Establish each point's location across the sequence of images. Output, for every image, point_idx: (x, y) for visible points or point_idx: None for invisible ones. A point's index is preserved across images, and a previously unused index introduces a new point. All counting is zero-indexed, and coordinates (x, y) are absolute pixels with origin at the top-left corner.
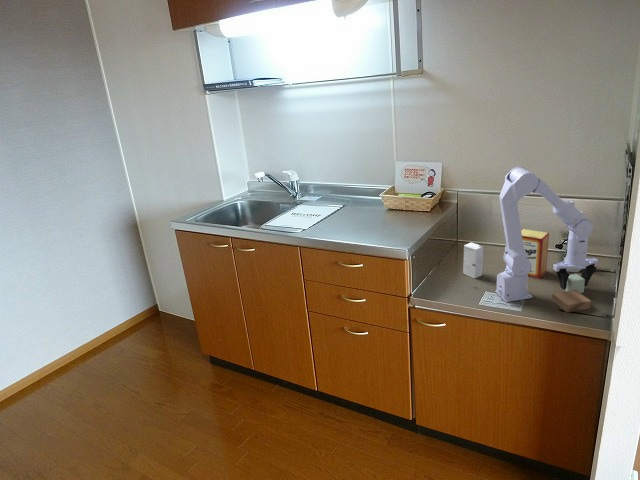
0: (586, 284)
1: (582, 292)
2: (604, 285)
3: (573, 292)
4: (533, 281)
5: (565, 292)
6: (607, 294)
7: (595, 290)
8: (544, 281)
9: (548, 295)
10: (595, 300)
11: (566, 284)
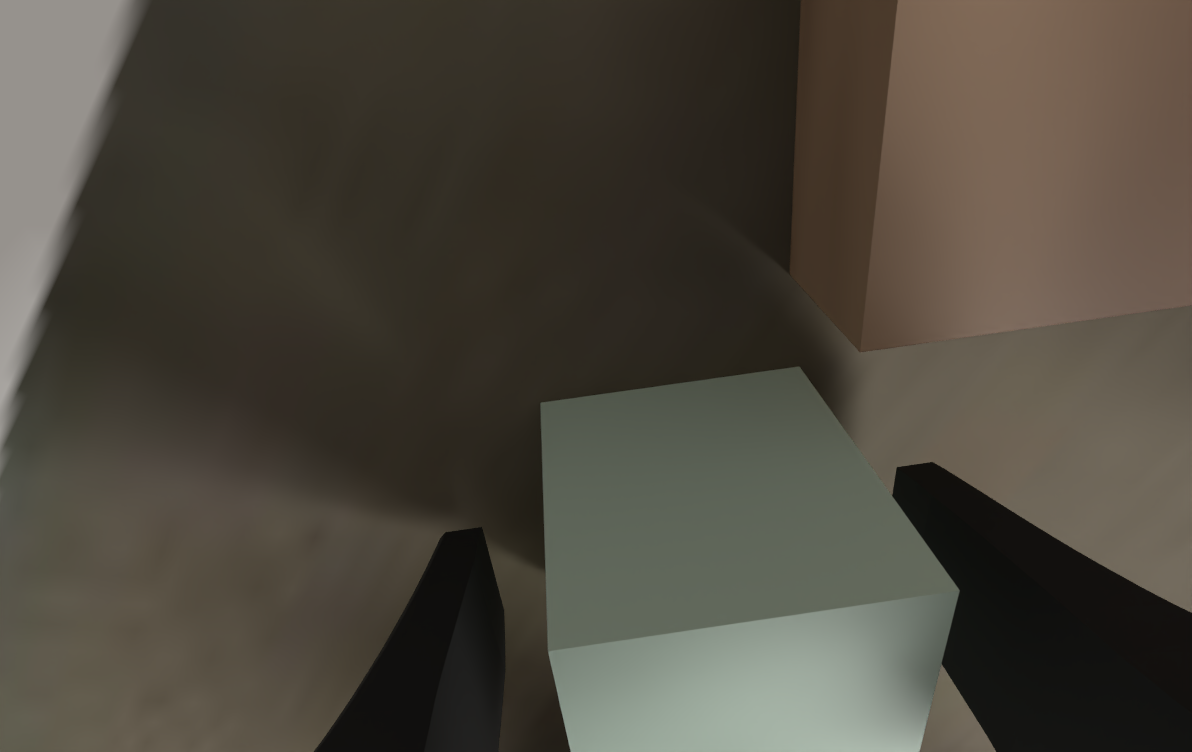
0: (452, 555)
1: (561, 402)
2: (72, 569)
3: (1014, 222)
4: None
5: (1182, 259)
6: (84, 256)
7: (291, 438)
8: None
9: (1165, 385)
10: (456, 19)
11: (990, 539)
